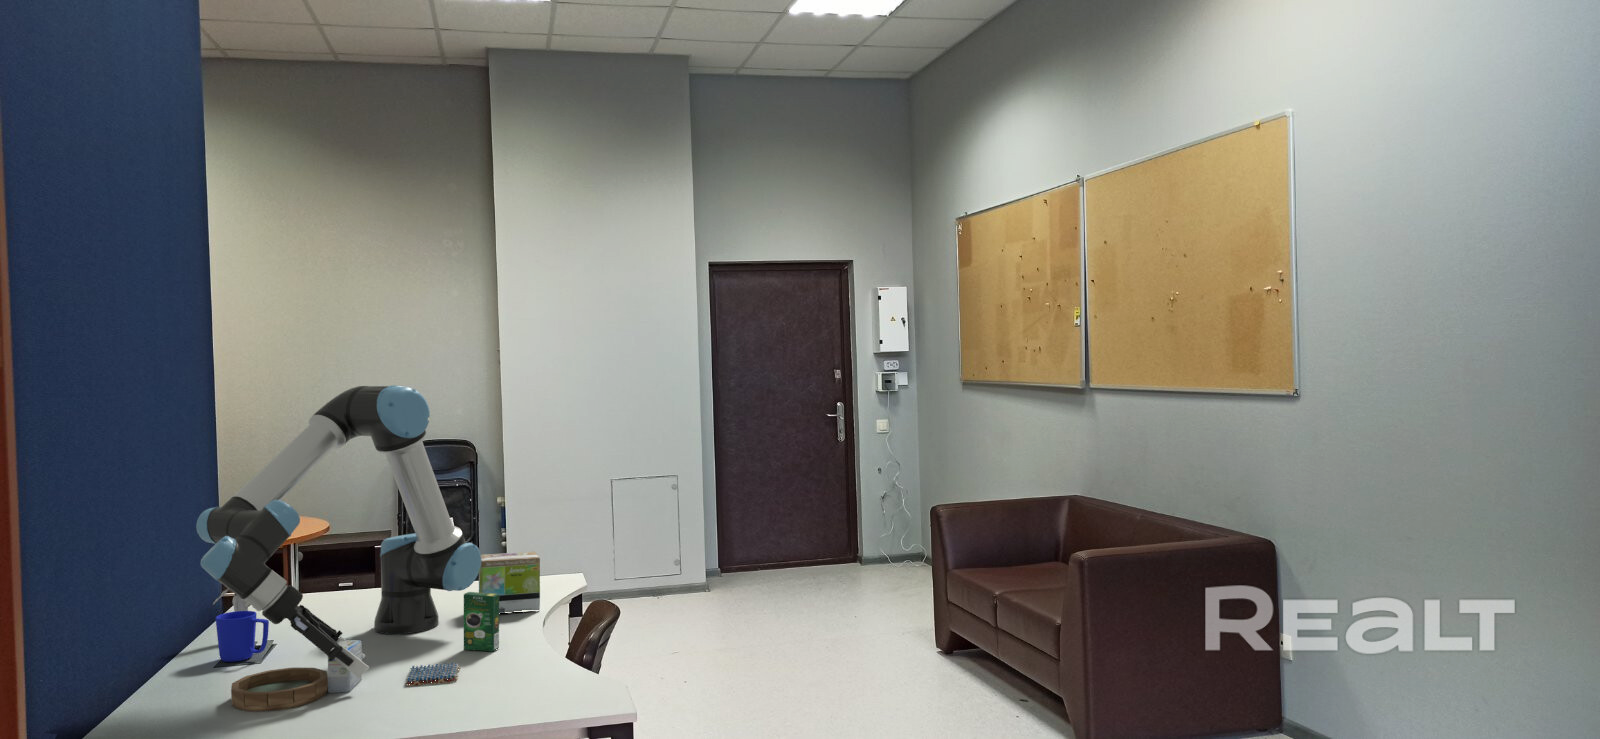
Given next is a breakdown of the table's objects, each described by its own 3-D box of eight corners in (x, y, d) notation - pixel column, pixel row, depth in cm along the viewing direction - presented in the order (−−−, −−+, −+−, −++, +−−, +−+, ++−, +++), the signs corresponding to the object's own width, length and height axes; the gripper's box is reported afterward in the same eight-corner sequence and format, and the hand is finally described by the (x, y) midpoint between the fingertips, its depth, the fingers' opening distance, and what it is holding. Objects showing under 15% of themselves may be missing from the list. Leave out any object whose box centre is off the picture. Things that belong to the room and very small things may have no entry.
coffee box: (501, 649, 249) (500, 592, 249) (494, 652, 246) (493, 595, 246) (469, 647, 251) (468, 591, 251) (463, 650, 248) (462, 593, 248)
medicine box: (340, 681, 225) (339, 640, 225) (362, 680, 226) (361, 639, 226) (327, 693, 218) (326, 650, 217) (350, 692, 218) (349, 649, 218)
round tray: (325, 679, 227) (325, 663, 227) (329, 702, 212) (329, 685, 212) (233, 691, 219) (232, 675, 219) (230, 716, 204) (230, 698, 204)
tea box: (481, 617, 279) (480, 560, 279) (478, 609, 289) (477, 554, 288) (540, 611, 285) (540, 556, 285) (535, 603, 294) (535, 549, 294)
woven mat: (404, 689, 221) (403, 679, 221) (409, 674, 231) (409, 665, 231) (457, 685, 224) (457, 675, 224) (460, 670, 234) (460, 661, 234)
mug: (255, 665, 238) (254, 620, 238) (207, 663, 240) (206, 618, 240) (280, 655, 246) (279, 611, 246) (234, 653, 248) (233, 610, 248)
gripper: (260, 602, 224) (345, 667, 232) (259, 624, 205) (351, 695, 212) (288, 574, 227) (371, 639, 234) (289, 593, 207) (380, 665, 215)
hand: (361, 666), depth 223 cm, fingers closed on medicine box, 9 cm apart
